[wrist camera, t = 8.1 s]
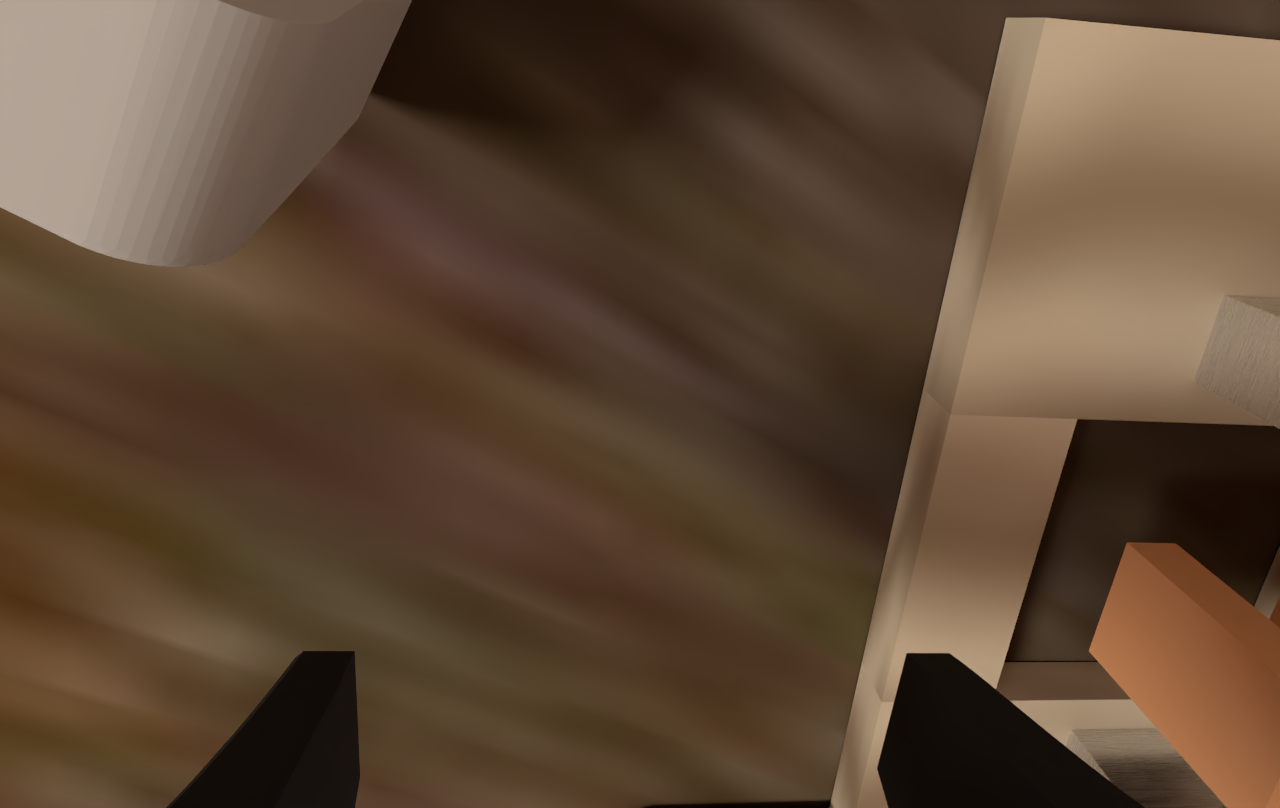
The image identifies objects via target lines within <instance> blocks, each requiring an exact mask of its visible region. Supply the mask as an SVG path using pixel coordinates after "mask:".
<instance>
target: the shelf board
mask: <svg viewBox="0 0 1280 808" xmlns="http://www.w3.org/2000/svg"><path fill="white" fill-rule="evenodd" d="M1224 295H1232V296H1250V297H1268V298H1280V40H1270V39H1259V38H1249V37H1239V36H1229V35H1218V34H1208V33H1198V32H1188V31H1177V30H1167V29H1157V28H1147V27H1136V26H1126V25H1116V24H1106V23H1095V22H1085V21H1075V20H1065V19H1054V18H1006V21H1005V26H1004V30H1003V35H1002V39H1001V44H1000V48H999V52H998V57H997V61H996V66H995V70H994V75H993V79H992V84H991V88H990V93H989V97H988V102H987V106H986V111H985V115H984V119H983V124H982V128H981V133H980V137H979V142H978V146H977V151H976V155H975V160H974V164H973V169H972V173H971V178H970V182H969V187H968V191H967V195H966V200H965V204H964V209H963V213H962V218H961V222H960V227H959V231H958V236H957V240H956V245H955V249H954V254H953V258H952V262H951V267H950V271H949V276H948V280H947V285H946V289H945V294H944V298H943V303H942V307H941V312H940V316H939V321H938V325H937V330H936V334H935V338H934V343H933V347H932V352H931V356H930V361H929V365H928V370H927V374H926V379H925V383H924V388H923V392H922V397H921V401H920V406H919V410H918V414H917V419H916V423H915V428H914V432H913V437H912V441H911V446H910V450H909V455H908V459H907V464H906V468H905V473H904V477H903V481H902V486H901V490H900V495H899V499H898V504H897V508H896V513H895V517H894V522H893V526H892V531H891V535H890V540H889V544H888V549H887V553H886V557H885V562H884V566H883V571H882V575H881V580H880V584H879V589H878V593H877V598H876V602H875V607H874V611H873V616H872V620H871V624H870V629H869V633H868V638H867V642H866V647H865V651H864V656H863V660H862V665H861V669H860V674H859V678H858V683H857V687H856V692H855V696H854V700H853V705H852V709H851V714H850V718H849V723H848V727H847V732H846V736H845V741H844V745H843V750H842V754H841V759H840V763H839V768H838V772H837V776H836V781H835V785H834V790H833V794H832V799H831V803H830V808H888V805H887V801H886V798H885V794H884V791H883V788H882V784H881V781H880V777H879V774H878V770H877V766H878V763H879V759H880V755H881V751H882V747H883V743H884V739H885V735H886V731H887V728H888V724H889V720H890V716H891V712H892V708H893V704H894V700H895V696H896V693H897V689H898V685H899V681H900V677H901V673H902V669H903V665H904V661H905V658H906V654H907V653H950V654H951V655H953V656H954V657H955V658H957V659H958V660H959V661H961V662H962V663H963V664H965V665H966V666H967V667H969V668H970V669H971V670H972V671H974V672H975V673H976V674H977V675H979V676H980V677H981V678H982V679H984V680H985V681H986V682H987V683H989V684H990V685H991V686H992V687H993V688H995V689H996V690H997V691H998V692H1000V693H1001V694H1002V695H1003V696H1004V697H1006V698H1007V699H1008V700H1009V701H1011V702H1012V703H1013V704H1014V705H1015V706H1017V707H1018V708H1019V709H1020V710H1021V711H1023V712H1024V713H1025V714H1026V715H1028V716H1029V717H1030V718H1031V719H1032V720H1034V721H1035V722H1036V723H1037V724H1038V725H1040V726H1041V727H1042V728H1043V729H1045V730H1046V731H1047V732H1048V733H1050V734H1051V735H1052V736H1053V737H1054V738H1056V739H1057V740H1058V741H1059V742H1061V743H1062V744H1063V745H1064V746H1066V744H1067V741H1068V738H1069V736H1070V733H1071V730H1073V729H1141V728H1156V727H1155V726H1154V724H1153V723H1152V722H1151V721H1150V720H1149V719H1148V718H1147V717H1146V715H1145V714H1144V713H1143V712H1142V711H1141V710H1140V709H1139V707H1138V706H1137V705H1136V704H1135V703H1134V702H1133V701H1132V700H1131V698H1130V697H1129V696H1128V695H1127V694H1126V693H1125V692H1124V690H1123V689H1122V688H1121V687H1120V686H1119V685H1118V684H1117V682H1116V681H1115V680H1114V679H1113V678H1112V677H1111V676H1110V675H1109V673H1108V672H1107V671H1106V670H1105V669H1104V668H1103V667H1102V665H1101V664H1100V663H1099V662H1004V661H1005V658H1006V654H1007V651H1008V648H1009V644H1010V641H1011V638H1012V634H1013V631H1014V628H1015V624H1016V621H1017V618H1018V615H1019V611H1020V608H1021V605H1022V601H1023V598H1024V595H1025V591H1026V588H1027V585H1028V581H1029V578H1030V575H1031V571H1032V568H1033V565H1034V561H1035V558H1036V555H1037V551H1038V548H1039V545H1040V542H1041V538H1042V535H1043V532H1044V528H1045V525H1046V522H1047V518H1048V515H1049V512H1050V508H1051V505H1052V502H1053V498H1054V495H1055V492H1056V488H1057V485H1058V482H1059V478H1060V475H1061V472H1062V469H1063V465H1064V462H1065V459H1066V455H1067V452H1068V449H1069V445H1070V442H1071V439H1072V435H1073V432H1074V429H1075V425H1076V422H1077V419H1090V420H1119V421H1148V422H1178V423H1207V424H1236V425H1265V426H1273V425H1271V424H1270V423H1268V422H1266V421H1264V420H1262V419H1261V418H1259V417H1257V416H1255V415H1253V414H1251V413H1250V412H1248V411H1246V410H1244V409H1242V408H1241V407H1239V406H1237V405H1235V404H1233V403H1231V402H1230V401H1228V400H1226V399H1224V398H1222V397H1221V396H1219V395H1217V394H1215V393H1213V392H1211V391H1210V390H1208V389H1206V388H1204V387H1202V386H1201V385H1199V384H1197V383H1195V382H1194V379H1195V377H1196V374H1197V371H1198V368H1199V365H1200V362H1201V360H1202V357H1203V354H1204V351H1205V348H1206V345H1207V342H1208V340H1209V337H1210V334H1211V331H1212V328H1213V325H1214V322H1215V320H1216V317H1217V314H1218V311H1219V308H1220V305H1221V303H1222V300H1223V297H1224ZM1279 596H1280V546H1279V549H1278V551H1277V553H1276V556H1275V558H1274V561H1273V563H1272V565H1271V568H1270V570H1269V572H1268V575H1267V577H1266V579H1265V582H1264V584H1263V586H1262V589H1261V591H1260V594H1259V596H1258V598H1257V601H1256V603H1255V605H1254V607H1255V608H1256V609H1257V610H1258V611H1260V612H1261V613H1262V614H1263V615H1264V616H1266V617H1267V618H1268V619H1270V617H1271V614H1272V612H1273V610H1274V608H1275V605H1276V603H1277V601H1278V598H1279Z"/></svg>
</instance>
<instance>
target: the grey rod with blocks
mask: <svg viewBox="0 0 1280 808" xmlns="http://www.w3.org/2000/svg"><path fill="white" fill-rule="evenodd" d="M1194 382H1195V383H1197V384H1199V385H1201V386H1202V387H1204V388H1206V389H1208V390H1210V391H1211V392H1213V393H1215V394H1217V395H1219V396H1221V397H1222V398H1224V399H1226V400H1228V401H1230V402H1231V403H1233V404H1235V405H1237V406H1239V407H1241V408H1242V409H1244V410H1246V411H1248V412H1250V413H1251V414H1253V415H1255V416H1257V417H1259V418H1261V419H1262V420H1264V421H1266V422H1268V423H1270V424H1271V425H1273V426H1275V427H1277V428H1279V429H1280V298H1268V297H1250V296H1232V295H1224V297H1223V300H1222V303H1221V305H1220V308H1219V311H1218V314H1217V317H1216V320H1215V322H1214V325H1213V328H1212V331H1211V334H1210V337H1209V340H1208V342H1207V345H1206V348H1205V351H1204V354H1203V357H1202V360H1201V362H1200V365H1199V368H1198V371H1197V374H1196V377H1195V379H1194ZM1066 747H1067V748H1068V749H1069V750H1071V751H1072V752H1073V753H1074V754H1076V755H1077V756H1078V757H1079V758H1081V759H1082V760H1083V761H1084V762H1086V763H1087V764H1088V765H1090V766H1091V767H1092V768H1093V769H1095V770H1096V771H1097V772H1099V773H1100V774H1101V775H1102V776H1104V777H1105V778H1106V779H1108V780H1109V781H1110V782H1112V783H1113V784H1114V785H1115V786H1117V787H1118V788H1119V789H1121V790H1122V791H1123V792H1125V793H1126V794H1127V795H1129V796H1130V797H1132V798H1133V799H1134V800H1136V801H1137V802H1138V803H1140V804H1141V805H1142V806H1144V807H1145V808H1227V807H1226V806H1225V805H1224V804H1223V803H1222V802H1221V801H1220V799H1219V798H1218V797H1217V796H1216V795H1215V794H1214V793H1213V791H1212V790H1211V789H1210V788H1209V787H1208V786H1207V785H1206V784H1205V782H1204V781H1203V780H1202V779H1201V778H1200V777H1199V776H1198V774H1197V773H1196V772H1195V771H1194V770H1193V769H1192V768H1191V767H1190V765H1189V764H1188V763H1187V762H1186V761H1185V760H1184V759H1183V757H1182V756H1181V755H1180V754H1179V753H1178V752H1177V751H1176V749H1175V748H1174V747H1173V746H1172V745H1171V744H1170V743H1169V742H1168V740H1167V739H1166V738H1165V737H1164V736H1163V735H1162V734H1161V732H1160V731H1159V730H1158V729H1157V728H1141V729H1073V730H1071V733H1070V736H1069V738H1068V741H1067V744H1066Z"/></svg>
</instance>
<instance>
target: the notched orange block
mask: <svg viewBox="0 0 1280 808" xmlns="http://www.w3.org/2000/svg"><path fill="white" fill-rule="evenodd" d="M1089 652H1090V653H1091V654H1092V655H1093V656H1094V658H1095V659H1096V660H1097V661H1098V662H1099V663H1100V664H1101V665H1102V667H1103V668H1104V669H1105V670H1106V671H1107V672H1108V673H1109V675H1110V676H1111V677H1112V678H1113V679H1114V680H1115V681H1116V682H1117V684H1118V685H1119V686H1120V687H1121V688H1122V689H1123V690H1124V692H1125V693H1126V694H1127V695H1128V696H1129V697H1130V698H1131V700H1132V701H1133V702H1134V703H1135V704H1136V705H1137V706H1138V707H1139V709H1140V710H1141V711H1142V712H1143V713H1144V714H1145V715H1146V717H1147V718H1148V719H1149V720H1150V721H1151V722H1152V723H1153V724H1154V726H1155V727H1156V728H1157V729H1158V730H1159V731H1160V732H1161V734H1162V735H1163V736H1164V737H1165V738H1166V739H1167V740H1168V742H1169V743H1170V744H1171V745H1172V746H1173V747H1174V748H1175V749H1176V751H1177V752H1178V753H1179V754H1180V755H1181V756H1182V757H1183V759H1184V760H1185V761H1186V762H1187V763H1188V764H1189V765H1190V767H1191V768H1192V769H1193V770H1194V771H1195V772H1196V773H1197V774H1198V776H1199V777H1200V778H1201V779H1202V780H1203V781H1204V782H1205V784H1206V785H1207V786H1208V787H1209V788H1210V789H1211V790H1212V791H1213V793H1214V794H1215V795H1216V796H1217V797H1218V798H1219V799H1220V801H1221V802H1222V803H1223V804H1224V805H1225V806H1226V807H1227V808H1280V596H1279V598H1278V601H1277V603H1276V605H1275V608H1274V610H1273V612H1272V614H1271V617H1270V619H1268V618H1267V617H1266V616H1264V615H1263V614H1262V613H1261V612H1260V611H1258V610H1257V609H1256V608H1255V607H1253V606H1252V605H1251V604H1250V603H1248V602H1247V601H1246V600H1245V599H1244V598H1242V597H1241V596H1240V595H1239V594H1237V593H1236V592H1235V591H1234V590H1233V589H1231V588H1230V587H1229V586H1228V585H1226V584H1225V583H1224V582H1223V581H1221V580H1220V579H1219V578H1218V577H1217V576H1215V575H1214V574H1213V573H1212V572H1210V571H1209V570H1208V569H1207V568H1205V567H1204V566H1203V565H1202V564H1201V563H1199V562H1198V561H1197V560H1196V559H1194V558H1193V557H1192V556H1191V555H1190V554H1188V553H1187V552H1186V551H1185V550H1183V549H1182V548H1181V547H1180V546H1178V545H1177V544H1176V543H1132V542H1127V544H1126V547H1125V550H1124V552H1123V555H1122V558H1121V561H1120V564H1119V567H1118V569H1117V572H1116V575H1115V578H1114V581H1113V584H1112V587H1111V589H1110V592H1109V595H1108V598H1107V601H1106V604H1105V606H1104V609H1103V612H1102V615H1101V618H1100V621H1099V623H1098V626H1097V629H1096V632H1095V635H1094V638H1093V641H1092V643H1091V646H1090V649H1089Z"/></svg>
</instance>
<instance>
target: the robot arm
mask: <svg viewBox="0 0 1280 808" xmlns="http://www.w3.org/2000/svg"><path fill="white" fill-rule="evenodd" d="M877 770H878V774H879V777H880V781H881V784H882V788H883V791H884V794H885V798H886V801H887V805H888V808H1145V807H1144V806H1142V805H1141V804H1140V803H1138V802H1137V801H1136V800H1134V799H1133V798H1132V797H1130V796H1129V795H1127V794H1126V793H1125V792H1123V791H1122V790H1121V789H1119V788H1118V787H1117V786H1115V785H1114V784H1113V783H1112V782H1110V781H1109V780H1108V779H1106V778H1105V777H1104V776H1102V775H1101V774H1100V773H1099V772H1097V771H1096V770H1095V769H1093V768H1092V767H1091V766H1090V765H1088V764H1087V763H1086V762H1084V761H1083V760H1082V759H1081V758H1079V757H1078V756H1077V755H1076V754H1074V753H1073V752H1072V751H1071V750H1069V749H1068V748H1067V747H1066V746H1064V745H1063V744H1062V743H1061V742H1059V741H1058V740H1057V739H1056V738H1054V737H1053V736H1052V735H1051V734H1050V733H1048V732H1047V731H1046V730H1045V729H1043V728H1042V727H1041V726H1040V725H1038V724H1037V723H1036V722H1035V721H1034V720H1032V719H1031V718H1030V717H1029V716H1028V715H1026V714H1025V713H1024V712H1023V711H1021V710H1020V709H1019V708H1018V707H1017V706H1015V705H1014V704H1013V703H1012V702H1011V701H1009V700H1008V699H1007V698H1006V697H1004V696H1003V695H1002V694H1001V693H1000V692H998V691H997V690H996V689H995V688H993V687H992V686H991V685H990V684H989V683H987V682H986V681H985V680H984V679H982V678H981V677H980V676H979V675H977V674H976V673H975V672H974V671H972V670H971V669H970V668H969V667H967V666H966V665H965V664H963V663H962V662H961V661H959V660H958V659H957V658H955V657H954V656H953V655H951V654H950V653H907V654H906V658H905V661H904V665H903V669H902V673H901V677H900V681H899V685H898V689H897V693H896V696H895V700H894V704H893V708H892V712H891V716H890V720H889V724H888V728H887V731H886V735H885V739H884V743H883V747H882V751H881V755H880V759H879V763H878V766H877ZM359 779H360V765H359V743H358V720H357V697H356V675H355V652H354V651H303V652H302V653H301V654H300V655H298V656H297V657H296V658H295V659H294V660H293V661H292V663H291V664H290V665H289V667H288V668H287V669H286V670H285V672H284V673H283V674H282V676H281V677H280V678H279V679H278V681H277V682H276V683H275V684H274V686H273V687H272V688H271V689H270V691H269V692H268V693H267V694H266V696H265V697H264V698H263V699H262V701H261V702H260V703H259V704H258V706H257V707H256V708H255V709H254V710H253V712H252V713H251V714H250V715H249V716H248V718H247V719H246V720H245V721H244V722H243V723H242V725H241V726H240V727H239V728H238V729H237V731H236V732H235V733H234V734H233V735H232V736H231V738H230V739H229V740H228V741H227V742H226V743H225V744H224V745H223V747H222V748H221V749H220V750H219V751H218V752H217V753H216V754H215V756H214V757H213V758H212V759H211V760H210V761H209V762H208V763H207V765H206V766H205V767H204V768H203V769H202V770H201V771H200V772H199V774H198V775H197V776H196V777H195V778H194V779H193V780H192V781H191V782H190V783H189V785H188V786H187V787H186V788H185V789H184V790H183V791H182V792H181V793H180V794H179V795H178V796H177V797H176V798H175V799H174V800H173V801H172V802H171V803H170V804H169V805H168V806H167V807H166V808H355V803H356V797H357V791H358V785H359Z"/></svg>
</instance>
